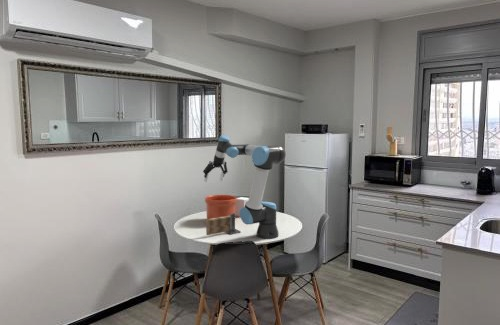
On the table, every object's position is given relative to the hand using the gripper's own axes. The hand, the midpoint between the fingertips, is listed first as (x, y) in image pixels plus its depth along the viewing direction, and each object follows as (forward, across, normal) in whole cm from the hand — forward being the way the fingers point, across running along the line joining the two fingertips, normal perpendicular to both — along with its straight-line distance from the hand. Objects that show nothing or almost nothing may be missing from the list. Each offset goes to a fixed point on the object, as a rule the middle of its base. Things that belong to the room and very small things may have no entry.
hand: (213, 180), depth 276 cm
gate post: (+20, -1, +38) cm, 43 cm away
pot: (+32, -10, +11) cm, 35 cm away
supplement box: (+33, -34, +6) cm, 48 cm away
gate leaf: (+19, +10, +37) cm, 43 cm away
